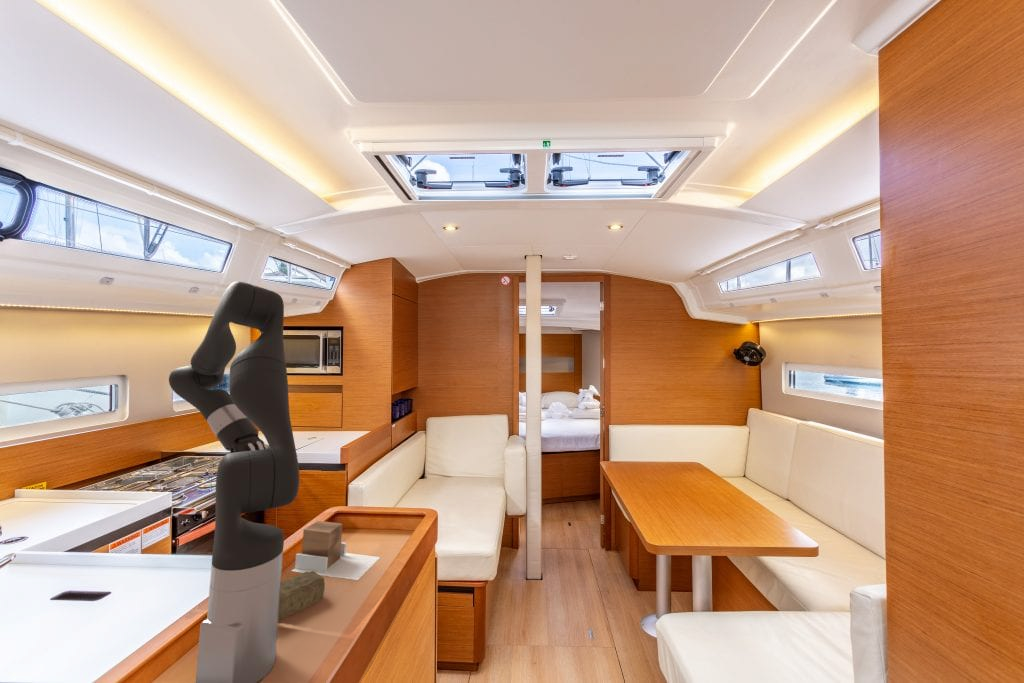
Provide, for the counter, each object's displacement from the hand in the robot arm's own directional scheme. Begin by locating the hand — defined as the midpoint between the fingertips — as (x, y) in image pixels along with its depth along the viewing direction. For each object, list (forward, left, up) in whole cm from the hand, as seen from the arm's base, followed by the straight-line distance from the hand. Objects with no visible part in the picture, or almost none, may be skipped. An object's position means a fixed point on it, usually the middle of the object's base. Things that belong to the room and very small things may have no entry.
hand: (272, 481), depth 93 cm
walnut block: (0, -14, -17) cm, 22 cm away
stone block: (-16, -19, -18) cm, 30 cm away
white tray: (0, -16, -18) cm, 24 cm away
